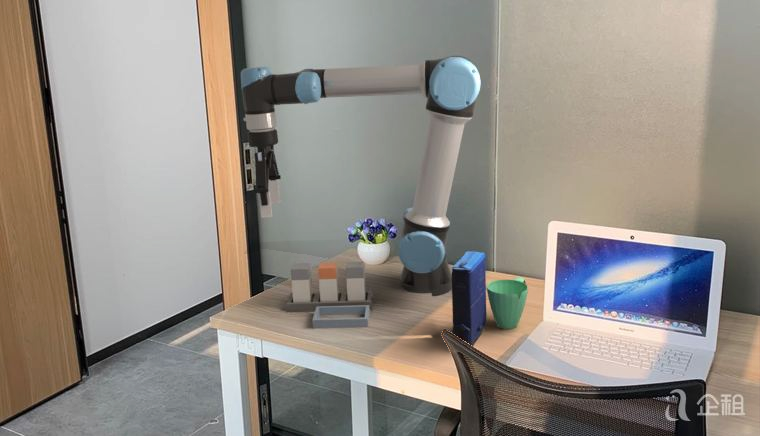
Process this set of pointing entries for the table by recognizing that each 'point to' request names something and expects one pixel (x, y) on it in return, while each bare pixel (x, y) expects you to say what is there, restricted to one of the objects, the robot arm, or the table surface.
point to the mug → (507, 301)
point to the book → (469, 296)
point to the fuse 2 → (355, 281)
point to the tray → (341, 321)
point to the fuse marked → (328, 282)
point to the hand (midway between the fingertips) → (271, 210)
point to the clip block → (316, 302)
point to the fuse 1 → (301, 282)
